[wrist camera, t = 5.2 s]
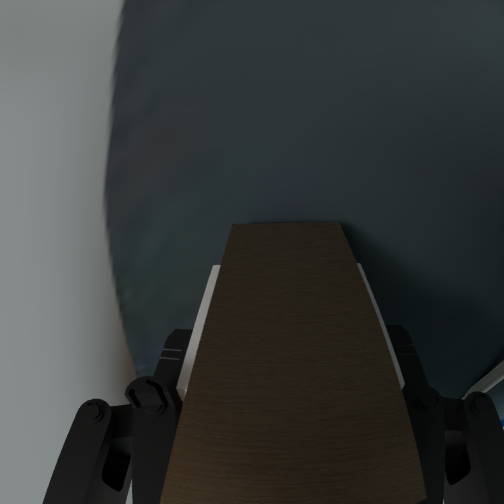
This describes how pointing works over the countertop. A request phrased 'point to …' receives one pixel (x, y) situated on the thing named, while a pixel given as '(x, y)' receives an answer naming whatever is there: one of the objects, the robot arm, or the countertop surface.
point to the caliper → (488, 380)
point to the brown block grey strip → (292, 382)
